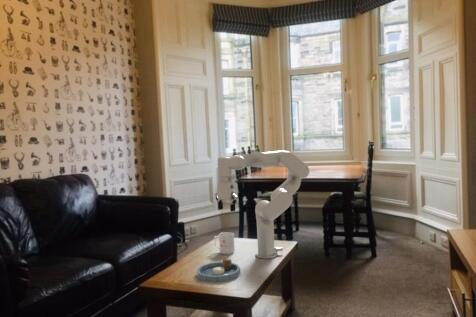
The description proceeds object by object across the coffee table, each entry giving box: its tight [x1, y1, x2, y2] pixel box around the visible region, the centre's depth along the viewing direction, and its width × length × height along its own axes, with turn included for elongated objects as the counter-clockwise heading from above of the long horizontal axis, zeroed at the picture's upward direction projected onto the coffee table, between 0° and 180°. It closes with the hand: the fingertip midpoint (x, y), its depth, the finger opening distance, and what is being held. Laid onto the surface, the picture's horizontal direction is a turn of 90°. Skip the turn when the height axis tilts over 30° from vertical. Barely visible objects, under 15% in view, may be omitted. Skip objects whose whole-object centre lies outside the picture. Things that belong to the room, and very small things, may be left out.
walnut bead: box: [222, 258, 233, 271], centre depth 209 cm, size 4×4×5 cm
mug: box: [213, 231, 236, 255], centre depth 240 cm, size 12×9×11 cm
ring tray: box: [196, 261, 241, 283], centre depth 205 cm, size 21×21×3 cm
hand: (226, 210), depth 224 cm, fingers open, 9 cm apart
